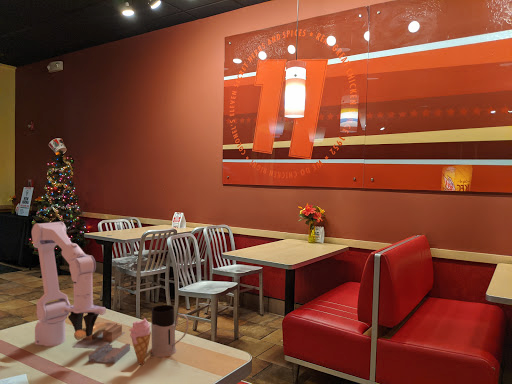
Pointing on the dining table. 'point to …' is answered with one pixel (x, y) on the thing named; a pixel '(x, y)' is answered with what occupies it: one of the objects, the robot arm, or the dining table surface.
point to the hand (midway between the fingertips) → (84, 335)
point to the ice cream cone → (140, 339)
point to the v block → (108, 353)
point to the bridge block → (101, 336)
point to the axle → (96, 329)
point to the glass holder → (164, 330)
